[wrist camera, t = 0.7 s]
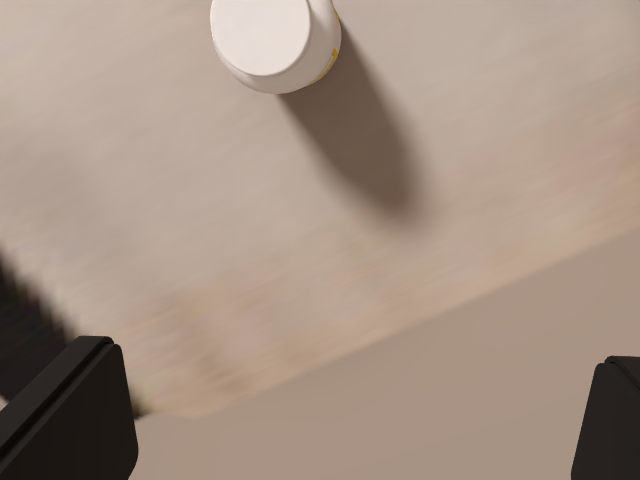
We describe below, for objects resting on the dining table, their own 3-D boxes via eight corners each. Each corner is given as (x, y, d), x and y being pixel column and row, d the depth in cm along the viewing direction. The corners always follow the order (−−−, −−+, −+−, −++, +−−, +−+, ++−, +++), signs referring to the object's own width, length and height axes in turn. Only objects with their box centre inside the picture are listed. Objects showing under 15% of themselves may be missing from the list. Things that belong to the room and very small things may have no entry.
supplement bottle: (252, -21, 32) (190, -74, 20) (347, -9, 32) (342, -56, 20) (245, 81, 35) (186, 88, 23) (335, 93, 34) (323, 106, 22)
